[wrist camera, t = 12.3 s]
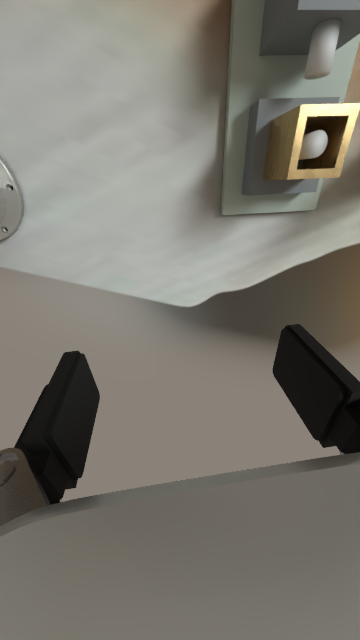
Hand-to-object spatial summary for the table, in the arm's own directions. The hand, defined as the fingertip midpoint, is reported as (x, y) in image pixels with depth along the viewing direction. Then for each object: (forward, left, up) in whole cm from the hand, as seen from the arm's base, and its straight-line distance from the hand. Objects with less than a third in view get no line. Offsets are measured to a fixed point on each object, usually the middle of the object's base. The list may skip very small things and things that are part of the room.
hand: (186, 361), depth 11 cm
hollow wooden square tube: (+15, +10, -24) cm, 30 cm away
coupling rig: (+16, +14, -28) cm, 35 cm away
